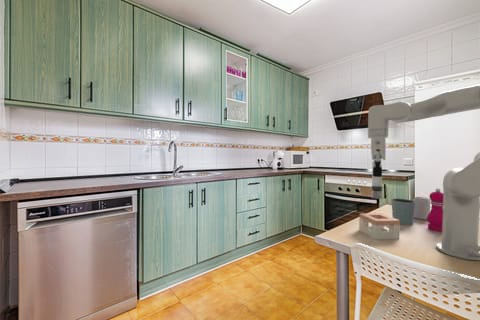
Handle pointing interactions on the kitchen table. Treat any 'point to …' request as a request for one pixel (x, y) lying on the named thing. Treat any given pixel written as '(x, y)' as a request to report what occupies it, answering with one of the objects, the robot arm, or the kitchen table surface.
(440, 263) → the kitchen table surface
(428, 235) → the kitchen table surface
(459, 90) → the robot arm
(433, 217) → the pepper mill
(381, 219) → the collar stand
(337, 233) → the kitchen table surface
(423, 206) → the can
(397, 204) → the grey teal tapered bin
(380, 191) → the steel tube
